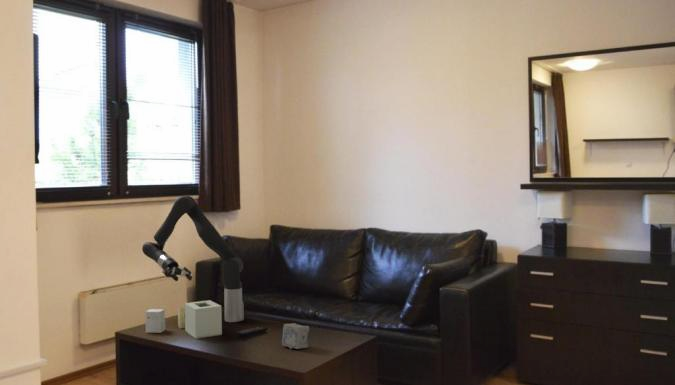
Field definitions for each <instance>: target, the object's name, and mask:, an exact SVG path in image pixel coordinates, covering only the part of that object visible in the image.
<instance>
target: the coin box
mask: <svg viewBox="0 0 675 385" xmlns="http://www.w3.org/2000/svg"><path fill="white" fill-rule="evenodd" d="M184 310H185V328H184V332H186V333H187V334H189V336H191V337H192V338H194V339H196V340H197V339H203V338H209V337H216V336H222V334H223V327H222V326H223V322H222V320H223V319H222V316H223V315H222V313H223V312H222V305H221V304H218V303H216V302H214V301H212V300H210V299H209V300H200V301H192V302H191V301H190V302H185V303H184Z"/></svg>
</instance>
